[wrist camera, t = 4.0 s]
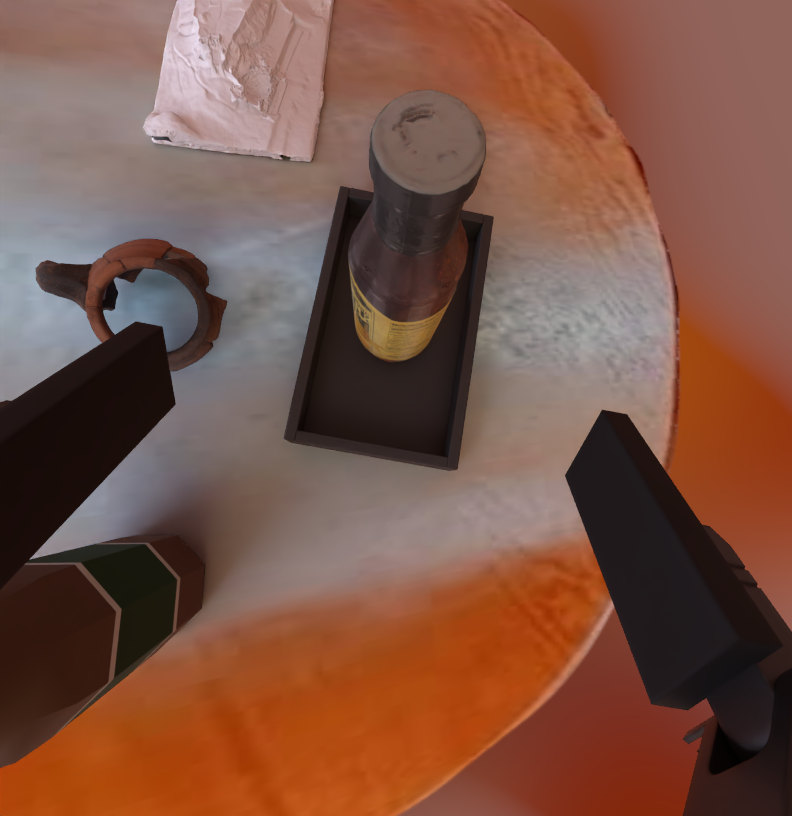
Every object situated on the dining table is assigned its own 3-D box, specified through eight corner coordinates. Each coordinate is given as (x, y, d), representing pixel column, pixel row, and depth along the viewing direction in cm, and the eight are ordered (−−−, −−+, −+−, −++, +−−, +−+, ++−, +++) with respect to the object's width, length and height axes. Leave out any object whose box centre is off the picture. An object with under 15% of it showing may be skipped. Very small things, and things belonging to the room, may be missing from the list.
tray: (290, 442, 31) (283, 438, 29) (342, 207, 35) (339, 185, 32) (449, 470, 32) (457, 470, 29) (484, 236, 36) (494, 216, 33)
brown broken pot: (236, 254, 34) (225, 250, 27) (230, 364, 37) (218, 388, 29) (64, 223, 31) (-4, 209, 23) (71, 348, 33) (11, 371, 26)
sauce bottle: (361, 289, 34) (351, 28, 14) (435, 300, 34) (526, 59, 14) (349, 364, 33) (321, 194, 13) (426, 375, 33) (512, 225, 13)
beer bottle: (178, 662, 28) (-761, 1571, 5) (76, 618, 28) (-1354, 1303, 5) (230, 554, 30) (-299, 841, 6) (132, 512, 30) (-760, 640, 6)
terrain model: (156, 171, 36) (121, 124, 31) (162, -51, 39) (130, -128, 34) (346, 170, 37) (342, 125, 32) (338, -47, 40) (333, -120, 35)
